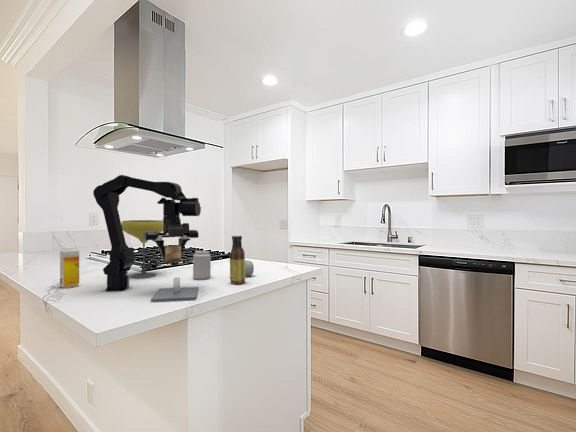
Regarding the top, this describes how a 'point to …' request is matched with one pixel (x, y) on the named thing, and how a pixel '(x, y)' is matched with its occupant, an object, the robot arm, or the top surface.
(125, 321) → the top surface
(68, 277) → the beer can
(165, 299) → the pin board
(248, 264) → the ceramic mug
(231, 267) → the sauce bottle
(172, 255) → the oak sleeve
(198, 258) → the can
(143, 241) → the cocktail glass
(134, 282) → the top surface
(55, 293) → the top surface
